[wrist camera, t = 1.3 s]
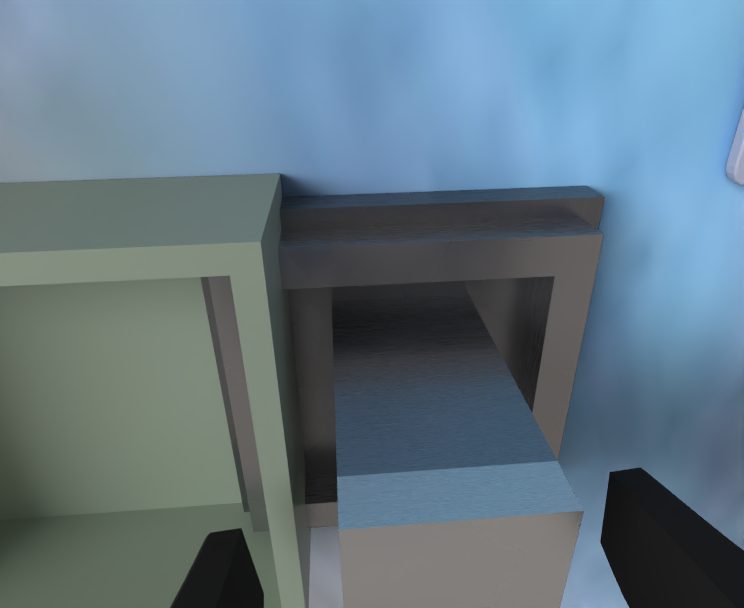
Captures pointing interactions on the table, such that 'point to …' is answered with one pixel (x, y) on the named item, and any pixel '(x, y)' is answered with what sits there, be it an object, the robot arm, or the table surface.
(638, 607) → the robot arm
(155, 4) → the table surface
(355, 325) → the grey plug block
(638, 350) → the table surface
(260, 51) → the table surface
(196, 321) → the bin
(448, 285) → the socket block
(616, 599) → the table surface
